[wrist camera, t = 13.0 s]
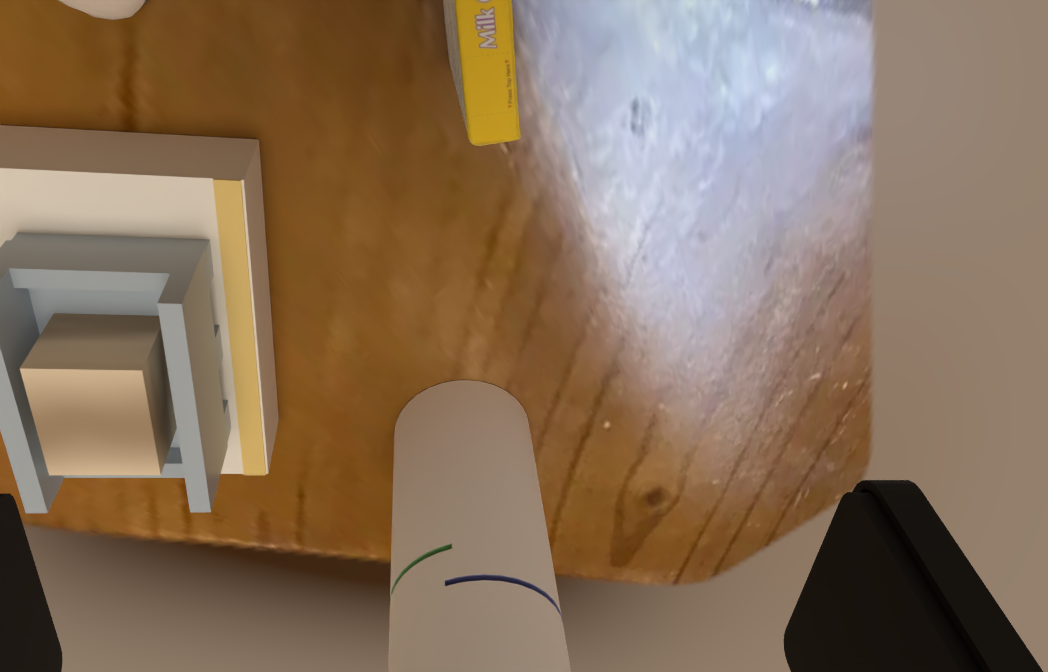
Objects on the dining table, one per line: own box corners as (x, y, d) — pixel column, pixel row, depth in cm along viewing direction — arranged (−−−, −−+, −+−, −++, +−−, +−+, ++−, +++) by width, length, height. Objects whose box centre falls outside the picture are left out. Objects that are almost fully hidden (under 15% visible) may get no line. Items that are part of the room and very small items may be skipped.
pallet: (16, 227, 33) (-40, 298, 29) (209, 234, 34) (181, 304, 30) (66, 430, 38) (26, 513, 34) (231, 431, 39) (210, 512, 35)
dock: (-2, 125, 35) (-46, 167, 31) (258, 139, 36) (243, 181, 33) (69, 416, 43) (40, 474, 40) (278, 419, 44) (268, 475, 41)
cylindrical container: (533, 473, 48) (622, 1014, 28) (405, 490, 48) (401, 1049, 28) (524, 371, 44) (620, 918, 24) (383, 389, 44) (360, 958, 24)
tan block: (53, 313, 33) (19, 368, 30) (165, 315, 33) (142, 370, 31) (78, 415, 36) (48, 475, 33) (180, 416, 36) (160, 475, 33)
